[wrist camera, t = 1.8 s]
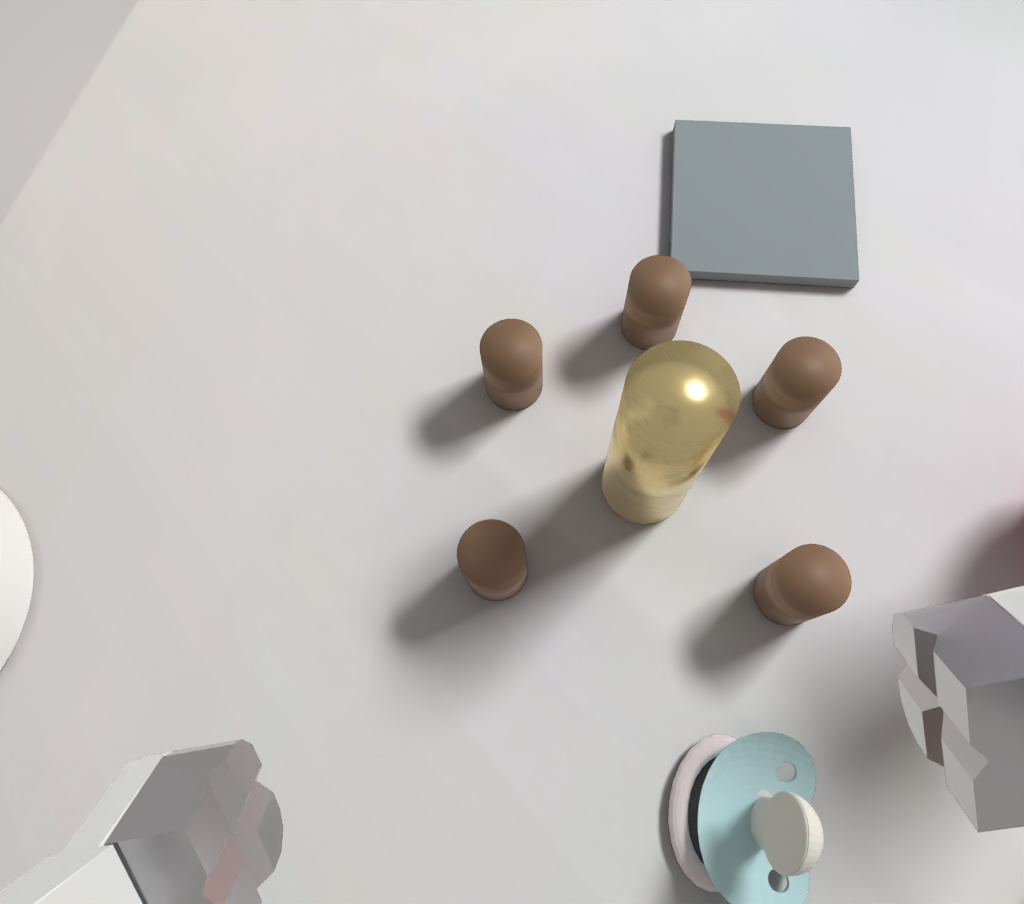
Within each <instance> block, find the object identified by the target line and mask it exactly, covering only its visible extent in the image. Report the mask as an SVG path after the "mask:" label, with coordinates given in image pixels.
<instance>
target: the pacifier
mask: <svg viewBox="0 0 1024 904" xmlns="http://www.w3.org/2000/svg"><path fill="white" fill-rule="evenodd" d="M715 757H717V758H716V759H715V760H714V762H713V763H712V765H711V767H710V769H709V771H708V773H707V775H706V778H705V781H704V783H703V787H702V790H701V794H700V799H699V806H698V821H697V827H698V837H699V845H700V850H701V854H702V858H703V861H704V864H703V863H702V862H701V861H700V859H699V858H698V856H697V854H696V852H695V850H694V848H693V845H692V842H691V838H690V834H689V826H688V804H689V799H690V794H691V790H692V787H693V784H694V782H695V779H696V777H697V775H698V774H699V772H700V771H701V769H702V767H703V766H704V765H705V764H706V763H708V762H709V761H710V760H711V759H713V758H715ZM783 762H789V763H791V764H792V765H793V767H794V769H795V775H794V777H793V779H792V780H790V781H788V782H782V781H781V780H779V778H778V777H777V774H776V770H777V767H778V766H779V765H780V764H781V763H783ZM815 784H816V774H815V767H814V764H813V761H812V759H811V756H810V755H809V753H808V752H807V750H806V749H805V748H804V747H803V746H802V745H801V744H800V743H799V742H798V741H796V740H794V739H793V738H791V737H789V736H786V735H783V734H779V733H773V732H761V733H756V734H751V735H748V736H745V737H742V738H740V739H738V740H737V739H734V738H732V737H729V736H727V735H711V736H709V737H707V738H704V739H702V740H700V741H699V742H698V743H697V744H695V745H694V746H693V747H692V748H691V749H690V750H689V751H688V753H687V754H686V756H685V757H684V759H683V760H682V762H681V763H680V765H679V768H678V770H677V773H676V775H675V778H674V780H673V784H672V789H671V793H670V798H669V814H668V824H669V831H670V839H671V844H672V847H673V850H674V853H675V856H676V859H677V861H678V863H679V865H680V866H681V868H682V870H683V872H684V873H685V875H686V876H687V877H688V878H689V879H690V880H691V881H692V882H693V883H694V884H695V885H696V886H698V887H700V888H702V889H704V890H707V891H709V892H719V893H720V894H721V895H722V896H723V897H724V898H725V899H726V900H727V901H728V902H729V903H730V904H804V903H805V901H806V899H807V895H808V890H809V870H810V869H812V868H813V867H814V866H815V864H816V863H817V862H818V860H819V858H820V856H821V853H822V850H823V844H824V835H823V829H822V825H821V822H820V820H819V817H818V815H817V814H816V812H815V810H814V809H813V808H812V806H811V805H810V803H811V801H812V799H813V795H814V791H815ZM773 869H774V870H775V871H776V872H777V873H779V874H781V875H784V876H786V878H787V886H786V888H785V889H784V890H783V891H781V892H777V891H774V890H773V889H772V888H771V887H770V885H769V882H768V875H769V872H770V871H771V870H773Z"/></svg>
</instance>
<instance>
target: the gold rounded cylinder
mask: <svg viewBox="0 0 1024 904" xmlns="http://www.w3.org/2000/svg"><path fill="white" fill-rule="evenodd" d="M740 399H741V394H740V387H739V382H738V379H737V377H736V375H735V373H734V371H733V369H732V368H731V366H730V365H729V363H728V362H727V361H726V360H725V359H724V358H723V357H722V356H721V355H719V354H718V353H717V352H715V351H714V350H712V349H711V348H709V347H707V346H704V345H702V344H699V343H695V342H691V341H668V342H664V343H660V344H658V345H655V346H653V347H651V348H649V349H648V350H646V351H645V352H643V353H642V354H641V355H640V356H639V357H638V358H637V359H636V360H635V361H634V363H633V364H632V366H631V367H630V369H629V371H628V374H627V376H626V380H625V384H624V388H623V392H622V396H621V400H620V405H619V409H618V413H617V417H616V421H615V425H614V429H613V433H612V437H611V441H610V446H609V450H608V454H607V458H606V462H605V466H604V470H603V474H602V491H603V495H604V498H605V500H606V502H607V503H608V505H609V506H610V508H611V509H612V510H613V511H614V512H615V513H616V514H617V515H619V516H620V517H621V518H623V519H625V520H627V521H630V522H633V523H637V524H653V523H657V522H660V521H662V520H664V519H666V518H668V517H669V516H670V515H672V514H673V513H674V512H675V511H676V509H677V508H678V507H679V505H680V504H681V502H682V501H683V499H684V497H685V496H686V494H687V493H688V491H689V490H690V488H691V487H692V485H693V484H694V482H695V481H696V479H697V477H698V476H699V474H700V473H701V471H702V470H703V468H704V467H705V465H706V464H707V462H708V460H709V459H710V457H711V456H712V454H713V453H714V451H715V450H716V448H717V447H718V445H719V443H720V442H721V440H722V439H723V437H724V436H725V434H726V433H727V431H728V430H729V428H730V427H731V425H732V423H733V422H734V420H735V418H736V416H737V413H738V411H739V406H740Z"/></svg>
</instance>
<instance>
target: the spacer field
mask: <svg viewBox="0 0 1024 904" xmlns="http://www.w3.org/2000/svg"><path fill="white" fill-rule="evenodd" d="M691 284H692V283H691V276H690V273H689V271H688V270H687V268H686V267H685V266H684V265H683V264H682V263H681V262H680V261H678V260H677V259H675V258H672V257H669V256H665V255H654V256H650V257H647V258H645V259H643V260H641V261H640V262H639V263H638V264H637V265H636V266H635V267H634V268H633V270H632V272H631V275H630V280H629V285H628V290H627V295H626V300H625V305H624V311H623V316H622V321H621V327H622V332H623V334H624V336H625V337H626V339H627V340H628V341H629V342H630V343H631V344H633V345H634V346H636V347H638V348H641V349H645V350H648V349H649V348H651V347H653V346H655V345H658V344H660V343H664V342H668V341H671V340H672V339H673V338H674V336H675V333H676V331H677V328H678V325H679V322H680V319H681V316H682V313H683V310H684V307H685V305H686V302H687V299H688V296H689V293H690V290H691ZM480 354H481V360H482V366H483V371H484V377H485V383H486V388H487V392H488V395H489V397H490V398H491V400H492V401H493V402H494V403H495V404H496V405H498V406H499V407H501V408H504V409H507V410H521V409H524V408H527V407H529V406H530V405H532V404H533V403H534V402H535V401H536V400H537V399H538V397H539V396H540V393H541V391H542V341H541V337H540V335H539V333H538V332H537V330H536V329H535V328H534V327H533V326H532V325H530V324H529V323H527V322H525V321H522V320H518V319H505V320H501V321H498V322H496V323H494V324H493V325H491V326H490V327H489V328H488V329H487V330H486V331H485V333H484V334H483V336H482V338H481V341H480ZM841 372H842V367H841V361H840V358H839V356H838V354H837V353H836V351H835V350H834V349H833V348H832V347H831V346H830V345H829V344H827V343H826V342H824V341H822V340H820V339H817V338H814V337H798V338H795V339H792V340H790V341H788V342H787V343H786V344H784V345H783V346H782V348H781V349H780V351H779V352H778V354H777V355H776V357H775V358H774V360H773V361H772V363H771V364H770V366H769V368H768V369H767V371H766V372H765V374H764V375H763V377H762V378H761V380H760V381H759V383H758V385H757V386H756V388H755V390H754V392H753V396H752V403H753V407H754V410H755V412H756V414H757V415H758V416H759V418H760V419H761V420H762V421H764V422H765V423H766V424H768V425H770V426H773V427H776V428H781V429H787V428H792V427H795V426H798V425H799V424H801V423H802V422H803V421H804V420H805V419H806V418H807V417H808V416H809V415H810V414H811V412H812V411H813V410H814V409H815V408H816V407H817V406H818V405H819V403H820V402H821V401H822V400H823V399H824V398H825V397H826V395H827V394H828V393H829V392H830V391H831V390H832V389H833V388H834V386H835V385H836V384H837V383H838V381H839V379H840V376H841ZM457 559H458V564H459V566H460V568H461V570H462V572H463V574H464V576H465V577H466V579H467V581H468V583H469V584H470V586H471V588H472V589H473V590H474V591H475V592H476V593H477V594H478V595H479V596H481V597H482V598H485V599H487V600H491V601H502V600H506V599H508V598H510V597H512V596H514V595H515V594H516V593H518V592H519V590H520V589H521V588H522V586H523V585H524V583H525V580H526V576H527V564H526V555H525V546H524V543H523V540H522V538H521V536H520V534H519V533H518V532H517V530H516V529H515V528H514V527H512V526H511V525H509V524H508V523H506V522H503V521H500V520H494V519H489V520H483V521H480V522H477V523H475V524H473V525H472V526H471V527H469V528H468V529H467V530H466V531H465V532H464V534H463V535H462V537H461V539H460V541H459V544H458V548H457ZM850 591H851V575H850V571H849V569H848V567H847V565H846V563H845V562H844V560H843V559H842V558H841V557H840V556H839V555H838V554H837V553H836V552H834V551H833V550H831V549H830V548H828V547H825V546H822V545H817V544H806V545H802V546H799V547H797V548H795V549H793V550H792V551H790V552H789V553H787V554H786V555H784V556H783V557H781V558H780V559H778V560H777V561H775V562H774V563H772V564H771V565H769V566H768V567H766V568H765V569H764V570H762V571H761V572H760V574H759V575H758V577H757V579H756V581H755V584H754V598H755V601H756V604H757V606H758V608H759V609H760V611H761V612H762V613H763V614H764V615H765V616H766V617H767V618H768V619H770V620H771V621H773V622H775V623H778V624H781V625H796V624H799V623H802V622H805V621H808V620H810V619H813V618H816V617H819V616H822V615H824V614H827V613H830V612H832V611H835V610H837V609H838V608H840V607H841V606H842V605H843V604H844V603H845V602H846V600H847V599H848V596H849V594H850Z"/></svg>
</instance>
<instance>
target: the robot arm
mask: <svg viewBox="0 0 1024 904" xmlns="http://www.w3.org/2000/svg"><path fill="white" fill-rule="evenodd" d="M33 571H34V569H33V556H32V549H31V544H30V539H29V536H28V533H27V530H26V527H25V525H24V522H23V520H22V518H21V516H20V514H19V513H18V511H17V509H16V508H15V506H14V505H13V503H12V502H11V501H10V499H9V498H8V497H7V496H6V495H5V494H4V493H3V492H2V491H1V490H0V670H1V669H2V667H3V666H4V664H5V662H6V661H7V659H8V657H9V656H10V654H11V652H12V650H13V648H14V647H15V645H16V642H17V640H18V638H19V636H20V634H21V631H22V628H23V626H24V623H25V620H26V617H27V613H28V609H29V605H30V601H31V595H32V588H33ZM892 632H893V642H894V646H895V648H896V649H897V650H898V652H899V653H900V654H901V656H902V657H903V658H904V660H905V661H906V662H907V663H906V665H905V667H904V668H903V670H902V671H901V673H900V675H899V676H898V684H899V691H900V697H901V703H902V706H903V709H904V712H905V716H906V719H907V722H908V725H909V727H910V729H911V731H912V733H913V735H914V738H915V740H916V742H917V743H918V745H919V746H920V748H921V749H922V751H923V752H924V754H925V756H926V757H927V758H928V759H930V760H932V761H934V762H936V763H938V764H940V765H942V766H944V768H945V777H946V786H947V788H948V790H949V791H950V792H951V794H952V795H953V797H954V798H955V800H956V801H957V803H958V804H959V805H960V807H961V808H962V810H963V811H964V813H965V814H966V816H967V817H968V818H969V820H970V821H971V823H972V824H973V826H974V827H975V829H976V830H977V832H985V831H993V830H1000V829H1008V828H1015V827H1023V826H1024V586H1020V587H1016V588H1012V589H1007V590H1003V591H998V592H994V593H990V594H985V595H981V596H979V597H975V598H970V599H965V600H961V601H956V602H951V603H947V604H942V605H937V606H932V607H928V608H923V609H918V610H914V611H909V612H904V613H900V614H895V615H893V623H892ZM261 766H262V764H261V762H260V760H259V758H258V756H257V754H256V751H255V749H254V747H253V745H252V744H251V743H248V742H246V741H244V740H242V739H241V740H235V741H230V742H224V743H218V744H212V745H206V746H200V747H194V748H189V749H183V750H177V751H173V752H164V753H160V754H155V755H150V756H145V757H140V758H137V759H135V760H132V761H130V762H128V763H127V764H126V765H125V766H124V768H123V769H122V770H121V772H120V773H119V775H118V776H117V777H116V779H115V780H114V781H113V783H112V784H111V786H110V787H109V788H108V790H107V791H106V792H105V794H104V795H103V796H102V798H101V799H100V801H99V802H98V803H97V805H96V806H95V807H94V809H93V810H92V812H91V813H90V814H89V816H88V817H87V818H86V820H85V821H84V822H83V824H82V825H81V827H80V828H79V829H78V831H77V832H76V833H75V835H74V836H73V837H72V839H71V840H70V842H69V843H68V844H67V846H66V847H65V848H64V850H63V851H62V853H61V854H57V855H51V856H48V857H47V858H45V859H44V860H43V861H41V862H40V863H39V864H37V865H36V866H34V867H33V868H32V869H30V870H29V871H27V872H26V873H25V874H23V875H22V876H21V877H19V878H18V879H16V880H15V881H14V882H12V883H11V884H9V885H8V886H7V887H5V888H4V889H2V890H1V891H0V904H262V901H261V898H260V896H259V894H258V892H257V888H258V887H259V886H260V885H261V884H262V883H263V882H264V881H265V880H266V879H267V878H268V877H269V876H270V875H271V874H272V873H273V872H274V870H275V868H276V865H277V862H278V859H279V857H280V854H281V850H282V837H283V823H282V818H281V812H280V808H279V805H278V803H277V800H276V798H275V795H274V793H273V792H272V791H270V790H269V789H267V788H266V787H265V786H263V785H262V784H260V783H259V782H257V778H258V775H259V772H260V769H261Z"/></svg>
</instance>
